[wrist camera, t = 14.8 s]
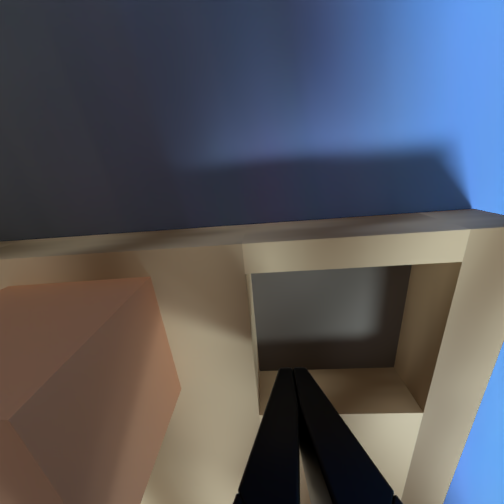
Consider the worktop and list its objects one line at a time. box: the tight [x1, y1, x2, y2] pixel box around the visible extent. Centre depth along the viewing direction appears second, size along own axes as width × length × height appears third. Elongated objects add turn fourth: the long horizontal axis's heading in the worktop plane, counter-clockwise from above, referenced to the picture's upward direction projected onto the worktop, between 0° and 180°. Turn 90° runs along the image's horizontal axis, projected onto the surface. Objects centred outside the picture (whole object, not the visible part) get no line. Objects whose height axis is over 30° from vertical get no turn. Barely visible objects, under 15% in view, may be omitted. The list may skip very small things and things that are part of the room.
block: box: [0, 277, 181, 504], centre depth 6 cm, size 5×5×4 cm
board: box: [0, 209, 504, 504], centre depth 10 cm, size 30×16×5 cm, turn 95°
